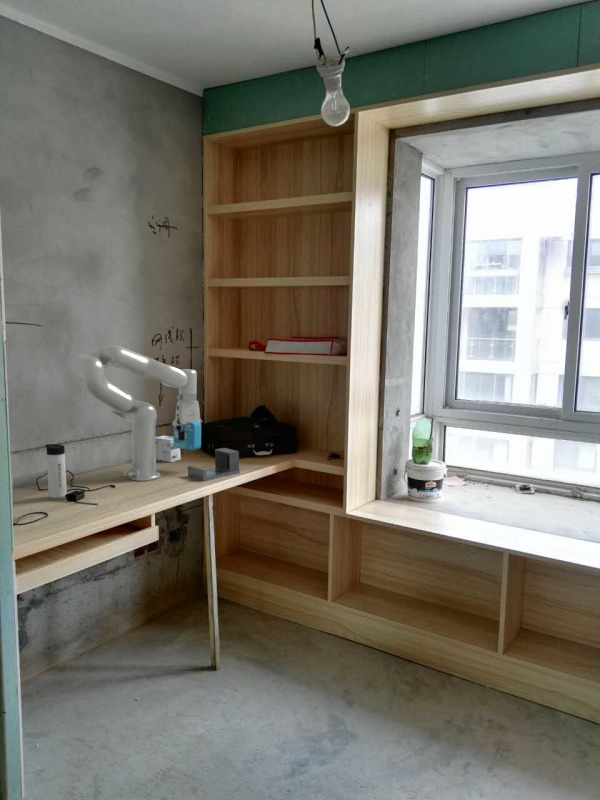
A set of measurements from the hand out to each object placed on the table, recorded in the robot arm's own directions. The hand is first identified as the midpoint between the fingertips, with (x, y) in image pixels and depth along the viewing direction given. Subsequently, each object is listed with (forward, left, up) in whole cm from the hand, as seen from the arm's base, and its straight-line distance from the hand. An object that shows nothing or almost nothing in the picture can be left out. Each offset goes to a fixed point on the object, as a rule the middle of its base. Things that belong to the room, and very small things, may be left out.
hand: (187, 439), depth 274 cm
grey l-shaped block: (+3, -15, -14) cm, 20 cm away
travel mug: (-59, -2, -14) cm, 61 cm away
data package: (0, 0, -4) cm, 4 cm away
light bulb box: (+5, +23, -14) cm, 27 cm away
